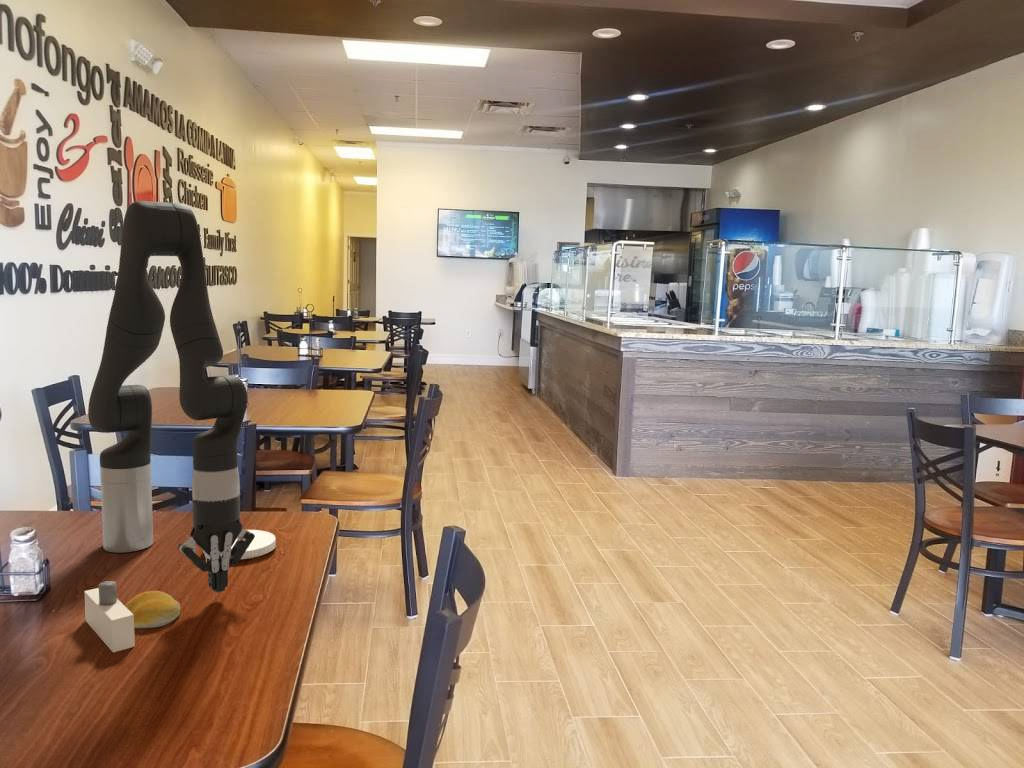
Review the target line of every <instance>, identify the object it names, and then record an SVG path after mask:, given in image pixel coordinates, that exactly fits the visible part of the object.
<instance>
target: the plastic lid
mask: <svg viewBox="0 0 1024 768" xmlns="http://www.w3.org/2000/svg"><path fill="white" fill-rule="evenodd" d="M247 530H248V531H249V532H251V533H253V534H254V535H255V537H254V539H253V541H252V542H251V544H250V545H249V547H248V548H247V550H246V551H245V553H244V554H243V556H242V557H241V559H240V560H247V559H253V558H256V557H260V556H261V557H262V556H264V555H266V554H268V553H270V552H272V551H274V549H275V548H276V545H277V543H276V542H277V540H276V539H277V538H276V535H275V534H273V533H272V532H269V531H265V530H259V529H247ZM237 540H238V539H236V540H235V542H234V544H233V545H232V547H231V549H232V548H233V546H234V545H235V543H236V541H237ZM202 552H203V554H204V551H203V550H202Z"/></svg>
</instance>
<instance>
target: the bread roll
mask: <svg viewBox="0 0 1024 768" xmlns="http://www.w3.org/2000/svg"><path fill="white" fill-rule="evenodd" d="M124 606H125V607H126V608H127V609H128V610H129V611H130V612H131V613H132V614H133V615H134V629H152V628H159V627H163V626H165V625H168V624H170V623H172V622H174V621H175V620H176V619H177V618H178V617H179V616H180V614H181V603H179V601H177V600H175V599H174V598H173V597H172V595H170V594H168V593H166V592H164V591H162V590H148V591H147V590H146V591H144V592H141V593H139V594H136V595H135V596H134V597H132V598H131V599H129V601H128V602H126V603H125V605H124Z"/></svg>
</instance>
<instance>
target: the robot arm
mask: <svg viewBox="0 0 1024 768" xmlns="http://www.w3.org/2000/svg"><path fill="white" fill-rule="evenodd" d="M150 257H177V259H178V261H179V265H180V267H181V277H180V279H181V280H180V283H179V286H178V290H177V292H176V294H175V296H174V298H173V299H174V300H173V302H172V305H171V309H170V315H169V326H170V331H171V335H172V338H173V342H174V345H175V349H176V351H177V352H176V353H177V355H178V359H179V360H178V361H179V389H178V390H179V395H178V396H179V397H178V398H179V399H178V400H179V404H180V408H181V409H182V412H183V413H184V414H185V415H186V416H187V417H188V418H190V419H191V420H194V421H206V420H213V419H215V422H214V424H213V426H212V427H211V428H210V429H208V430H204V431H203V432H201V433H198V434H197V435H196V436H195V437H194V438H193V440H192V441H193V442H192V460H193V461H192V462H193V463H192V465H193V469H192V470H193V471H192V480H191V497H192V498H191V499H192V500H191V501H192V529H191V531H190V533H189V534H190V537H189V538H188V539H187V540H186V541H185V542H184V543H179V544H178V545H177V550H179V552H180V553H182V555H184V557H186V558H187V559H188V560H189V561H190V562H191V563H192V564H193V565H194V566H195V567H196V568H198V569H199V570H200V571H201V572H202V573H205V572H207V577H208V578H207V579H208V580H207V582H208V584H207V585H208V587H209V588H210V589H211V591H213V592H214V593H215V594H217V593H221V592H225V590H226V588H227V587H228V585H229V578H228V577H229V574H228V571H229V568H230V567H231V566H233V565H238V564H239V562H240V560H242V559H241V557H242V556H243V554H244V553H245V551H246V550H247V548H248V547H249V545H250V544H251V542H252V541H253V539H254V537H255V535H254V534H253V533H251V532H249V531H248V530H249V529H244V528H243V524H242V522H241V519H240V518H241V497H240V496H241V495H240V494H241V493H240V490H241V485H240V475H239V474H240V473H239V467H238V466H239V465H238V463H239V462H238V442H239V438H240V435H241V430H242V426H243V422H244V418H245V415H246V411H247V408H248V399H249V398H248V397H249V396H248V391H247V387H246V385H245V384H244V382H243V380H241V379H240V378H239V377H237V376H236V375H232V374H231V375H230V374H229V375H218V376H216V375H215V376H205V374H204V373H205V372H204V369H206V368H209V367H212V366H214V365H216V364H218V363H219V362H220V361H222V359H223V357H224V350H223V345H222V342H221V339H220V335H219V332H218V328H217V325H216V323H215V319H214V316H213V312H212V308H211V307H212V306H211V303H210V298H209V292H208V291H209V290H208V281H207V274H206V266H205V259H204V253H203V246H202V239H201V233H200V228H199V224H198V221H197V218H196V216H195V213H194V212H193V210H192V209H191V207H189V206H188V205H186V204H184V203H179V202H178V203H177V202H168V201H167V202H166V201H163V202H162V201H148V200H141V201H140V200H138V201H133V202H132V203H130V204H129V206H128V207H127V209H126V211H125V214H124V219H123V223H122V230H121V241H120V254H119V260H118V261H119V265H118V271H117V278H116V283H115V288H114V295H113V299H112V303H111V307H110V311H109V314H108V319H107V326H106V330H105V331H106V332H105V339H104V344H103V349H102V350H103V351H102V355H101V360H100V364H99V367H98V370H97V374H96V377H95V380H94V382H93V386H92V389H91V393H90V395H89V396H90V397H89V400H88V409H87V412H88V422H89V424H90V425H89V426H91V428H92V429H93V430H94V431H95V432H97V433H101V434H102V433H104V434H111V433H120V432H121V433H122V432H128V433H127V434H126V435H125V436H124V437H123V438H122V439H121V440H120V441H118V442H117V443H115V444H113V445H110V446H109V447H107V448H105V449H103V450H102V451H100V453H99V471H100V473H99V475H100V493H101V494H100V496H101V499H100V500H101V520H102V522H101V523H102V524H101V525H102V546H103V550H104V551H106V552H110V553H130V552H136V551H141V550H144V549H146V548H149V547H150V546H152V545H153V543H154V530H153V529H154V527H153V525H154V521H153V495H152V494H153V493H152V492H153V491H152V465H151V462H152V460H151V456H152V455H151V454H152V429H153V428H152V427H153V423H152V422H153V403H152V397H151V394H150V391H149V390H148V388H147V387H146V386H145V385H142V384H126V385H123V384H124V382H126V380H127V379H128V377H129V376H131V374H132V373H134V372H135V371H136V370H137V369H138V368H139V367H140V366H142V365H143V364H144V363H145V362H147V360H148V359H149V358H150V357H151V356H152V355H153V354H154V353H155V352H156V350H157V348H158V347H159V345H160V342H161V338H162V334H163V330H164V326H165V322H166V321H165V320H166V313H165V309H164V306H163V303H162V302H161V300H160V298H159V296H158V295H157V293H156V291H155V290H154V288H153V286H152V285H151V283H150V280H149V278H148V275H147V266H148V261H149V259H150ZM236 539H238V540H237V541H236V543H235V545H234V546H233V548H232V549H231V547H232V545H233V544H234V542H235V540H236ZM196 545H197V546H198V547H199V548H200V549H201V550H202V552H203V551H204V553H203V554H204V557H205V560H203V559H202V558H201V557H200V556H199V555H198V554H197V553H196V551H197V546H196Z"/></svg>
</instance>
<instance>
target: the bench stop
mask: <svg viewBox="0 0 1024 768" xmlns="http://www.w3.org/2000/svg"><path fill="white" fill-rule="evenodd" d="M83 592H84V594H83V595H84V613H85V615H84V617H85V618H84V619H85V622H86V623H87V624H88V625H89V627H90V628H91V629H92V630H93V631H94V632H95V634H96V635H97V636H98V637H99V638H100V640H102V641H103V642H104V644H105V645H106V646H107V647H108V649H109V650H110V651H111V652H112V653H117V652H120V651H124V650H127V649H130V648H134V647H136V644H135V643H136V641H135V638H136V637H135V628H134V615H133V614H132V613H131V612H130V611H129V610H128V609H127V608H126V607H125V605H124V604H123V603H122V602H121V601H120V599H118V597H117V596H118V595H117V593H118V592H117V581H114V580H106V581H102V582H101V583H99V584H98V587H97V588H93V589H87V590H84V591H83Z"/></svg>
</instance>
